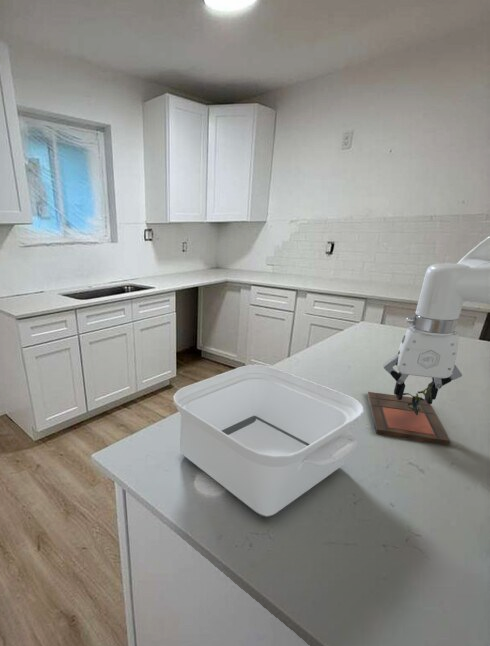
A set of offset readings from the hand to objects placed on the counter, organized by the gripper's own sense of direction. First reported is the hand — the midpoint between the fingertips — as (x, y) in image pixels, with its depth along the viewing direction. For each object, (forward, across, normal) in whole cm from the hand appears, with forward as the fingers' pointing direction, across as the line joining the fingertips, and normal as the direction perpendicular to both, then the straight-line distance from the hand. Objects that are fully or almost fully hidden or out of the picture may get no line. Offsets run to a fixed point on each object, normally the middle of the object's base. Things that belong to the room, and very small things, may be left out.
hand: (413, 398), depth 84 cm
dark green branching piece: (+2, 0, 0) cm, 2 cm away
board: (+7, 0, +4) cm, 8 cm away
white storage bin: (+7, -31, -26) cm, 41 cm away
